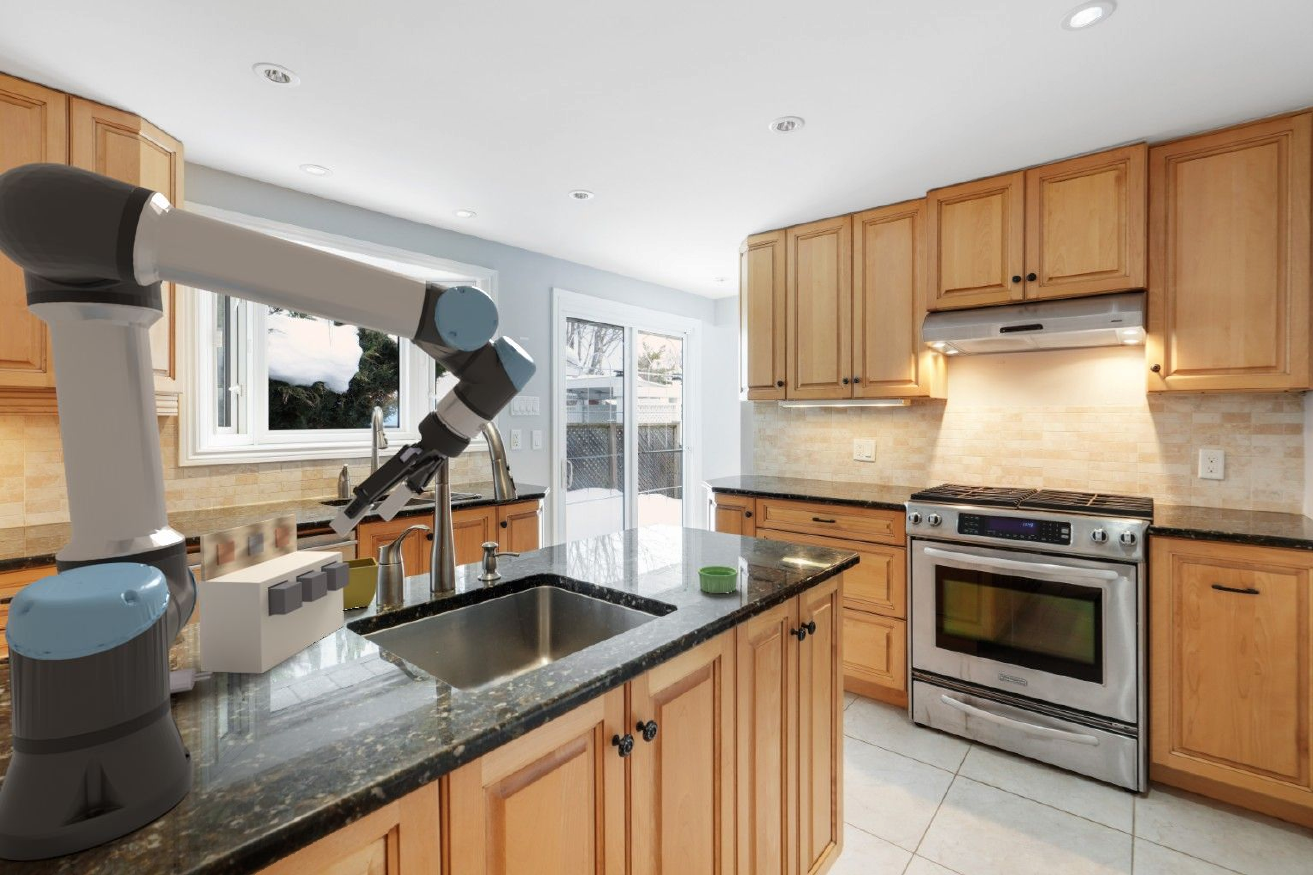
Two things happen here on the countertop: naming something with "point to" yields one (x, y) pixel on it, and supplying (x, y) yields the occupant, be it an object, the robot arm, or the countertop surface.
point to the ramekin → (718, 579)
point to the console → (263, 615)
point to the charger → (185, 679)
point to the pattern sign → (247, 546)
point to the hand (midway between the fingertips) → (360, 522)
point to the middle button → (313, 585)
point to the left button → (284, 597)
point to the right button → (336, 575)
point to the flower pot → (360, 583)
